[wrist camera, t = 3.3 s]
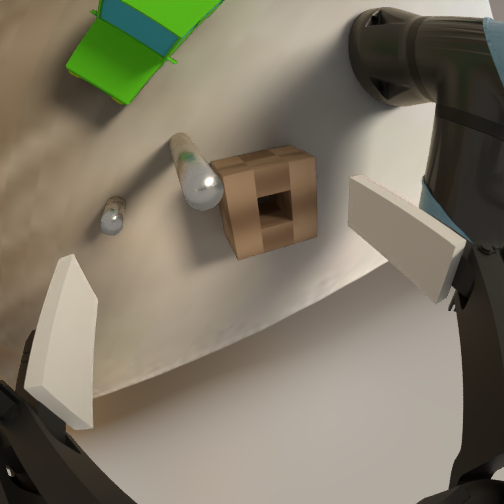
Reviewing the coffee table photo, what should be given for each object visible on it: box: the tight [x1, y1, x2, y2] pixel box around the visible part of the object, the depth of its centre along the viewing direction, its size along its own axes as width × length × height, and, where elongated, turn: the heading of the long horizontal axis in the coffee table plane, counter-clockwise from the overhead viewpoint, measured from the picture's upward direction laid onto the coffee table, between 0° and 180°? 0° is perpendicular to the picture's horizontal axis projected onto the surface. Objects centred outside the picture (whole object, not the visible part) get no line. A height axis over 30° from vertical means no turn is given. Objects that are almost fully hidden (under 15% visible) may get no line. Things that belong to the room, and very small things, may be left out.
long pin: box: [169, 133, 224, 210], centre depth 23 cm, size 2×2×16 cm
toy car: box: [65, 0, 224, 105], centre depth 18 cm, size 10×13×10 cm
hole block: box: [211, 145, 317, 260], centre depth 34 cm, size 10×10×6 cm
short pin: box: [100, 196, 126, 235], centre depth 29 cm, size 2×2×5 cm
